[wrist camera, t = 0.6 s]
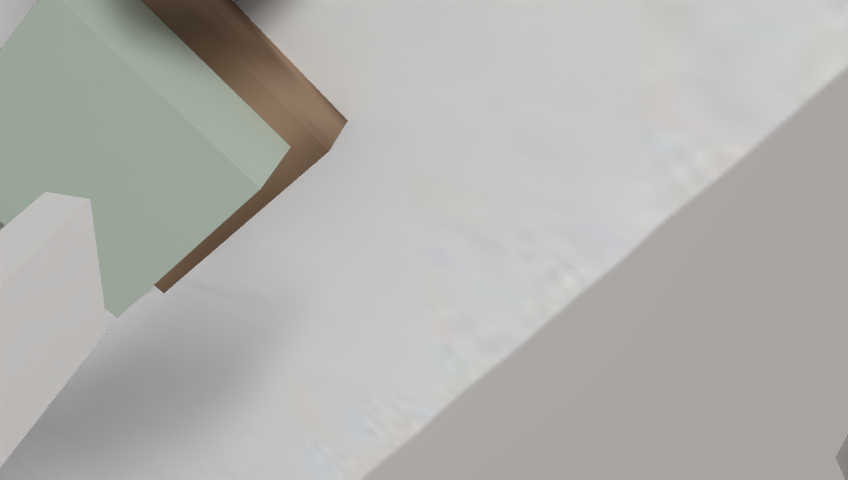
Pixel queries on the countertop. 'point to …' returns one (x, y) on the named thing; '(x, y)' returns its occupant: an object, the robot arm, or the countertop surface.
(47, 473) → the countertop surface
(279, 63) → the tower base block
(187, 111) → the tower top block
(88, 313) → the robot arm
